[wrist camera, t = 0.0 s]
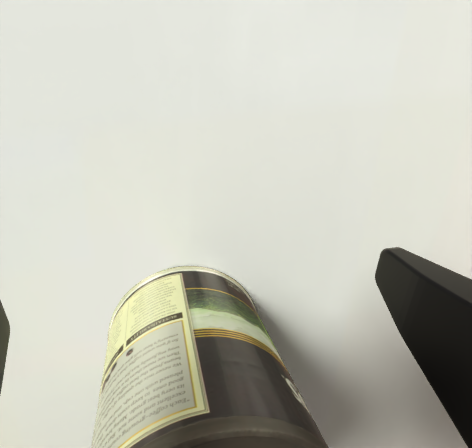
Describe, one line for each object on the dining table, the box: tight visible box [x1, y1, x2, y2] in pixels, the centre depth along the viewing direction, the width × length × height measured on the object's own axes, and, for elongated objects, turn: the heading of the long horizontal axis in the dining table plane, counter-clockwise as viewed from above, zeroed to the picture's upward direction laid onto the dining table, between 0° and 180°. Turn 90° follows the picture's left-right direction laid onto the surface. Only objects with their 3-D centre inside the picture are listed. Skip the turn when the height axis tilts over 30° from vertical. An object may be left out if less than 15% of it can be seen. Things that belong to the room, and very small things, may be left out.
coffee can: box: [91, 266, 328, 448], centre depth 21 cm, size 10×10×14 cm
